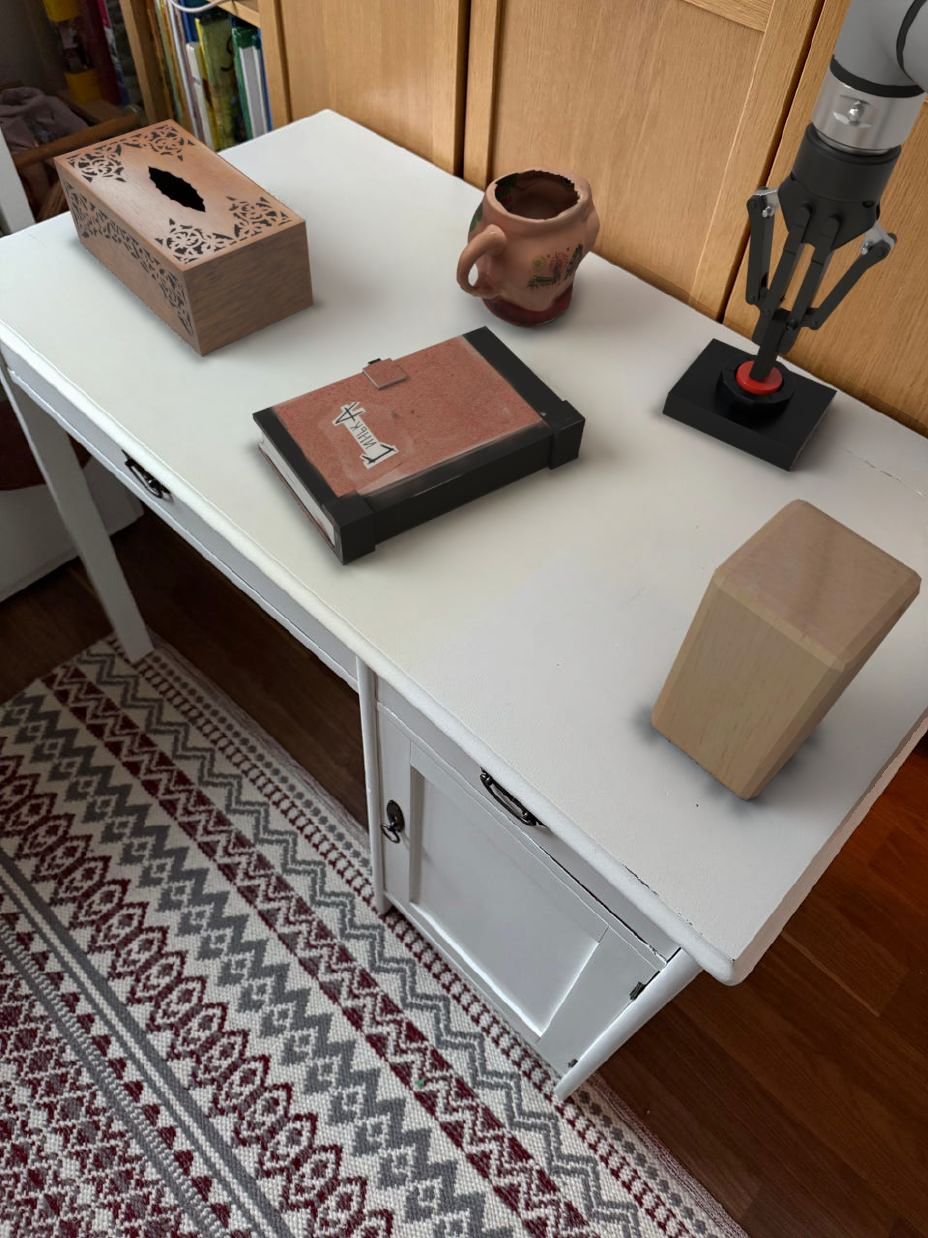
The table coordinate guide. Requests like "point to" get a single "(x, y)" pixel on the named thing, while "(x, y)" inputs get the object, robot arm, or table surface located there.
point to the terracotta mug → (529, 243)
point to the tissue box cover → (188, 233)
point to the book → (415, 439)
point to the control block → (748, 406)
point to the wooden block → (778, 644)
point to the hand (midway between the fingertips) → (760, 372)
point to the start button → (756, 387)
